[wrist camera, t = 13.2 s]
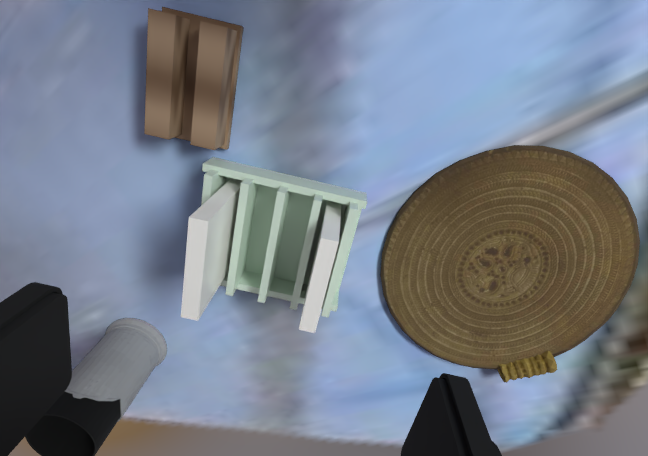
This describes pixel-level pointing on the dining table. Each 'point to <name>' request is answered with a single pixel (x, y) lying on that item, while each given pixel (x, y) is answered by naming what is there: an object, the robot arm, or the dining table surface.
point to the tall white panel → (209, 248)
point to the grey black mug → (99, 390)
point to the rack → (287, 236)
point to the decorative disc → (510, 259)
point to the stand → (191, 77)
